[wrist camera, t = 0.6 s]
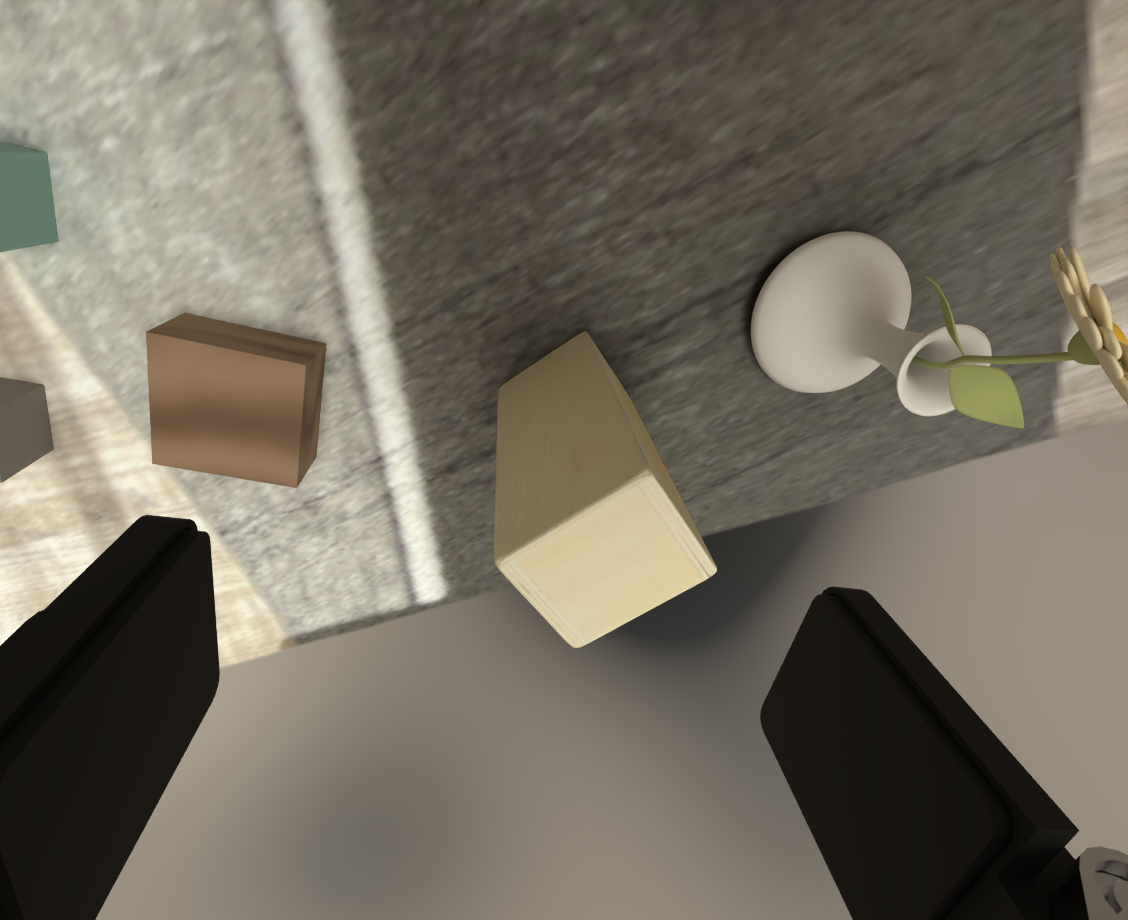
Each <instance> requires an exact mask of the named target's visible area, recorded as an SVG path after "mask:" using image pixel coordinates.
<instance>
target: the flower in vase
mask: <svg viewBox="0 0 1128 920" xmlns="http://www.w3.org/2000/svg"><path fill="white" fill-rule="evenodd" d="M1056 256H1057V258H1056V257H1055V255H1054V254H1052V253H1051V254H1050V257H1049V260H1050V266H1051V269H1052V273H1053V276H1054V279H1055V281H1056V284H1057V286H1058V289H1059V291H1060V293H1061V296H1062V298H1063V300H1064V302H1065V304H1066V307H1067V309H1068V310H1069V312H1070V314H1071V316H1072V318H1073V320H1074V321H1075V323H1076V324H1077V326H1078V328H1079V331H1078V332H1077V333H1076V334H1075V335H1074V336H1073V338H1072V339H1071V340H1070V342H1069V345H1068V352H1064V353H1053V354H1040V355H1025V356H992V354H991V346H990V343H989V341H988V339H987V337H986V336H985V335H984V333H983V332H981V331H980V330H979V329H977V328H975V327H973V326H969V325H963V324H957V325H955V322H954V319H953V315H952V312H951V309H950V306H949V304H948V302H947V300H946V298H945V296H944V294H943V292H942V290H941V288H940V287H939V286H938V284H937V283H936V282H935V281H933V280H932V279H930V278H928V277H926V276H925V277H926V278H927V279H928V280H929V281H930V282H931V283H932V284H933V285H934V287H935V288H936V290H937V292H938V294H939V297H940V300H941V304H942V310H943V316H944V321H945V325H946V326H945V327H942V328H939V329H937V330H935V331H933V332H931V333H929V334H920V333H914V332H910V331H906V330H904V329H905V326H906V324H907V320H908V317H909V313H910V307H911V286H910V281H909V277H908V274H907V271H906V269H905V267H904V265H903V263H902V262H901V260H900V259H899V257H898V256H897V254H896V253H895V252H894V251H893V250H892V249H891V247H890V246H888V245H887V244H886V243H884V242H883V241H882V240H880V239H878V238H876V237H874V236H871V235H868V234H865V233H861V232H854V231H842V232H835V233H830V234H826V235H823V236H820V237H818V238H815V239H813V240H810V241H809V242H807V243H805V244H803V245H802V246H800V247H798V248H797V249H796V250H794V251H793V252H792V253H790V254H789V255H788V256H787V257H786V258H785V259H784V260H783V261H781V262H780V264H779V265H778V266H777V267H776V268H775V269H774V270H773V272H772V273H771V275H770V276H769V277H768V279H767V280H766V282H765V284H764V285H763V287H762V289H761V291H760V293H759V296H758V298H757V300H756V303H755V307H754V310H753V314H752V321H751V341H752V347H753V351H754V354H755V356H756V359H757V361H758V363H759V365H760V366H761V368H762V370H763V371H764V372H765V373H766V374H767V375H768V376H769V377H770V378H771V379H772V380H773V381H774V382H776V383H778V384H779V385H781V386H783V387H785V388H787V389H790V390H794V391H797V392H805V393H824V392H831V391H835V390H839V389H842V388H845V387H847V386H850V385H852V384H854V383H856V382H858V381H860V380H861V379H863V378H864V377H866V376H867V375H869V374H870V373H871V372H873V371H874V370H875V369H876V368H877V367H878V366H879V365H880V364H881V365H883V366H884V367H886V368H887V369H888V370H889V371H890V372H892V374H893V375H894V376H895V377H896V378H897V392H898V396H899V398H900V400H901V402H902V404H903V405H904V406H905V407H906V408H907V409H908V410H909V411H911V412H913V413H915V414H918V415H922V416H936V415H941V414H944V413H947V412H950V411H952V410H954V409H956V410H957V411H959V412H961V413H962V414H964V415H967V416H969V417H972V418H975V419H979V420H982V421H986V422H991V423H995V424H1000V425H1005V426H1010V427H1016V428H1024V419H1023V413H1022V408H1021V404H1020V399H1019V396H1018V392H1017V390H1016V387H1015V385H1014V383H1013V381H1012V379H1011V377H1010V376H1009V375H1008V374H1007V373H1006V372H1005V371H1004V370H1002V369H999V368H996V367H990V364H1018V363H1040V362H1056V361H1069V360H1074V361H1076V362H1078V363H1081V364H1088V365H1101V366H1102V368H1103V370H1104V371H1105V373H1106V374H1107V376H1108V377H1109V379H1110V380H1111V382H1112V383H1113V385H1114V386H1115V388H1116V389H1117V391H1118V392H1119V394H1120V395H1121V396H1122V398H1123V399H1124V400H1125V402H1126V403H1127V404H1128V344H1127V340H1126V337H1125V335H1124V333H1123V332H1122V331H1121V329H1120V328H1119V327H1118V326H1117V325H1116V324H1115V323H1114V320H1113V315H1112V313H1111V310H1110V306H1109V303H1108V300H1107V298H1106V296H1105V294H1104V292H1103V291H1102V289H1101V288H1100V287H1099V286H1098V285H1097V284H1093V285H1090V282H1089V279H1088V276H1087V273H1086V270H1085V267H1084V265H1083V263H1082V261H1081V258H1080V256H1079V254H1078V252H1077V250H1076V249H1075V248H1074V247H1070V248H1069V258H1070V262H1071V263H1070V262H1069V260H1068V259H1066V257H1065V254H1064V252H1063V249H1062V248H1061V247H1057V249H1056ZM1119 361H1121V363H1122V364H1121V363H1120V362H1119ZM1123 366H1124V367H1123Z"/></svg>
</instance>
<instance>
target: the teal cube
mask: <svg viewBox="0 0 1128 920" xmlns="http://www.w3.org/2000/svg"><path fill="white" fill-rule="evenodd" d="M53 242H58V234H57V226H56V218H55V210H54V202H53V194H52V186H51V178H50V170H49V162H48V154H47V153H46V152H42V151H37V150H33V149H29V148H25V147H21V146H17V145H12V144H8V143H4V142H0V252H4V251H9V250H15V249H20V248H25V247H31V246H36V245H42V244H47V243H53Z"/></svg>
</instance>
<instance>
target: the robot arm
mask: <svg viewBox="0 0 1128 920" xmlns="http://www.w3.org/2000/svg"><path fill="white" fill-rule="evenodd" d="M219 673H220V672H219V657H218V643H217V629H216V615H215V600H214V586H213V572H212V558H211V544H210V537H209V535H208V533H207V532H204V531H198V530H197V526H196V524H195V522H194V521H192V520H191V519H181V518H171V517H162V516H152V515H145V516H142V517H140V518H139V519H138V520H136V521H135V522H134V523H133V524H132V525H131V526H130V527H129V528H128V529H127V530H126V531H125V532H124V533H123V534H122V535H121V536H120V537H119V538H118V539H117V540H116V541H115V542H114V543H113V544H112V545H111V546H110V547H109V548H107V549H106V550H105V551H104V552H103V553H102V554H101V555H100V556H99V557H98V558H97V559H96V560H95V561H94V562H93V563H92V564H91V565H90V566H89V567H88V568H87V569H86V570H85V571H84V572H83V573H82V574H81V575H80V576H79V577H78V578H77V579H75V580H74V581H73V582H72V583H71V584H70V585H69V586H68V587H67V588H66V589H65V590H64V591H63V592H62V593H61V594H60V595H59V596H58V597H57V598H56V599H55V600H54V601H53V602H52V603H51V604H50V605H49V606H48V607H47V608H46V609H45V610H42V611H39V612H38V613H36V614H35V615H34V616H32V617H31V618H30V619H28V620H27V621H26V622H25V623H24V624H23V625H22V626H21V627H20V628H18V629H17V630H16V631H15V632H14V633H13V634H12V635H11V636H10V637H9V638H8V639H7V640H6V641H5V642H4V643H3V644H2V645H1V646H0V920H95V919H96V917H97V915H98V913H99V911H100V910H101V908H102V906H103V904H104V902H105V900H106V898H107V897H108V895H109V893H110V891H111V889H112V887H113V885H114V884H115V882H116V880H117V878H118V876H119V874H120V872H121V871H122V869H123V867H124V865H125V863H126V861H127V859H128V857H129V856H130V854H131V852H132V850H133V848H134V846H135V844H136V842H137V841H138V839H139V837H140V835H141V833H142V831H143V830H144V828H145V826H146V824H147V822H148V820H149V818H150V816H151V815H152V813H153V811H154V809H155V807H156V805H157V804H158V802H159V800H160V798H161V796H162V794H163V792H164V790H165V788H166V787H167V785H168V783H169V781H170V779H171V777H172V776H173V774H174V772H175V770H176V768H177V766H178V764H179V763H180V761H181V758H182V757H183V755H184V753H185V751H186V750H187V748H188V746H189V744H190V742H191V740H192V738H193V736H194V735H195V733H196V731H197V729H198V727H199V725H200V723H201V722H202V720H203V718H204V716H205V714H206V712H207V710H208V709H209V707H210V705H211V703H212V701H213V699H214V697H215V694H216V691H217V687H218V683H219ZM760 717H761V724H762V729H763V731H764V734H765V736H766V738H767V740H768V742H769V744H770V746H771V748H772V750H773V752H774V755H775V757H776V759H777V761H778V763H779V765H780V767H781V769H782V771H783V773H784V776H785V778H786V780H787V782H788V784H789V786H790V788H791V790H792V792H793V795H794V797H795V799H796V801H797V803H798V805H799V807H800V809H801V811H802V814H803V816H804V818H805V820H806V822H807V824H808V826H809V828H810V830H811V832H812V835H813V836H814V839H815V841H816V843H817V845H818V847H819V849H820V851H821V853H822V856H823V858H824V860H825V862H826V864H827V866H828V868H829V870H830V873H831V875H832V877H833V879H834V881H835V883H836V885H837V887H838V889H839V891H840V894H841V895H842V898H843V900H844V902H845V904H846V906H847V908H848V910H849V912H850V915H851V917H852V919H853V920H1128V855H1126V854H1124V853H1122V852H1120V851H1117V850H1113V849H1108V848H1104V847H1093V848H1087V849H1086V850H1085V851H1084V852H1083V853H1082V854H1081V855H1080V856H1079V857H1078V858H1077V859H1076V860H1075V859H1074V858H1073V857H1072V856H1071V854H1070V853H1069V852H1068V851H1067V850H1066V848H1065V845H1066V844H1067V843H1068V842H1069V841H1070V840H1071V839H1072V838H1073V837H1074V836H1075V835H1076V834H1077V832H1078V831H1079V830H1078V829H1077V827H1076V826H1075V825H1074V824H1073V823H1072V822H1071V821H1070V820H1069V818H1068V817H1067V816H1066V815H1065V814H1064V813H1063V811H1062V810H1061V809H1060V808H1059V807H1058V806H1057V805H1056V804H1055V802H1054V801H1053V800H1052V799H1051V798H1050V797H1049V796H1048V794H1047V793H1046V792H1045V791H1044V790H1043V789H1042V788H1041V787H1040V785H1039V784H1038V783H1037V782H1036V781H1035V780H1034V779H1033V778H1032V776H1031V775H1030V774H1029V773H1028V772H1027V771H1026V770H1025V769H1024V767H1023V766H1022V765H1021V764H1020V763H1019V762H1018V761H1017V759H1016V758H1015V757H1014V756H1013V755H1012V754H1011V753H1010V752H1009V750H1008V749H1007V748H1006V747H1005V746H1004V745H1003V743H1001V741H1000V740H999V739H998V738H997V737H996V736H995V734H994V733H993V732H992V731H991V730H990V729H989V728H988V726H987V725H986V724H985V723H984V722H983V721H982V720H981V719H980V718H979V716H978V715H977V714H976V713H975V712H974V711H973V710H972V708H971V707H970V706H969V705H968V704H967V703H966V702H965V701H964V699H963V698H962V697H961V696H960V695H959V694H958V693H957V691H956V690H955V689H954V688H953V687H952V686H951V685H950V684H949V682H948V681H947V680H946V679H945V678H944V677H943V675H942V674H941V673H940V672H939V671H938V670H937V669H936V668H935V667H934V666H933V664H932V663H931V662H930V661H929V660H928V659H927V657H926V656H925V655H924V654H923V653H922V652H921V651H920V649H919V648H918V647H917V646H916V645H915V644H914V643H913V642H912V640H911V639H910V638H909V637H908V636H907V635H906V634H905V632H904V631H903V630H902V629H901V628H900V627H899V626H898V625H897V623H896V622H895V621H894V620H893V619H892V618H891V617H890V615H889V614H888V613H887V612H886V611H885V610H884V609H883V608H882V606H881V605H880V604H879V603H878V602H877V601H876V600H875V599H874V597H873V596H872V595H871V594H869V593H868V592H867V591H864V590H859V589H850V588H841V587H829V588H827V589H826V590H824V591H823V593H822V594H821V595H817V596H816V597H815V598H814V600H813V601H812V603H811V605H810V607H809V609H808V612H807V614H806V616H805V618H804V620H803V622H802V624H801V626H800V628H799V630H798V632H797V634H796V636H795V639H794V641H793V643H792V645H791V647H790V649H789V651H788V653H787V655H786V658H785V660H784V662H783V664H782V666H781V668H780V670H779V672H778V674H777V676H776V678H775V681H774V682H773V685H772V687H771V689H770V691H769V693H768V695H767V697H766V699H765V701H764V703H763V705H762V709H761V715H760Z"/></svg>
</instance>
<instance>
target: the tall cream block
mask: <svg viewBox="0 0 1128 920" xmlns="http://www.w3.org/2000/svg"><path fill="white" fill-rule="evenodd" d="M494 559H495V563H496V565H497V567H498V568H499V569H500V571H501V572H502V573H503V574H504V575H505V576H506V577H507V579H508V580H509V581H510V582H511V583H512V584H513V585H514V586H515V587H516V588H517V589H518V590H519V591H520V592H521V593H522V594H523V596H524V597H525V598H526V599H527V600H528V601H529V602H530V603H531V604H532V605H533V606H534V607H535V608H536V610H537V611H538V612H539V613H540V614H541V615H542V616H543V617H544V618H545V619H546V620H547V621H548V622H549V623H550V625H551V626H552V627H553V628H554V629H555V630H556V631H557V632H558V633H559V634H560V635H561V636H562V637H563V638H564V639H565V640H566V641H567V642H568V643H569V644H570V645H571V646H573V647H574V648H578V647H582V646H584V645H586V644H588V643H590V642H592V641H594V640H595V639H597V638H599V637H601V636H602V635H605V634H606V633H608V632H610V631H612V630H614V629H615V628H617V627H619V626H621V625H623V624H625V623H626V622H628V621H630V620H632V619H634V618H636V617H638V616H639V615H641V614H643V613H645V612H647V611H649V610H651V609H652V608H654V607H656V606H658V605H660V604H661V603H664V602H665V601H667V600H669V599H671V598H673V597H675V596H677V595H678V594H680V593H682V592H684V591H686V590H687V589H689V588H691V587H693V586H695V585H697V584H699V583H701V582H703V581H704V580H706V579H708V578H709V577H711V576H712V575H713V574H715V573H716V571H717V567H716V565H715V563H714V561H713V559H712V557H711V555H710V554H709V552H708V550H707V548H706V546H705V544H704V542H703V540H702V538H701V536H700V534H699V532H698V530H697V528H696V526H695V524H694V522H693V520H692V518H691V516H690V515H689V513H688V511H687V509H686V507H685V505H684V503H683V501H682V499H681V497H680V495H679V493H678V491H677V489H676V487H675V485H674V483H673V482H672V480H671V478H670V476H669V474H668V472H667V470H666V468H665V466H664V464H663V462H662V460H661V458H660V456H659V454H658V452H657V450H656V448H655V446H654V444H653V442H652V440H651V438H650V436H649V434H648V432H647V430H646V429H645V427H644V425H643V423H642V421H641V419H640V417H639V415H638V413H637V411H636V409H635V407H634V405H633V403H632V401H631V399H630V397H629V396H628V394H627V392H626V391H625V389H624V388H623V386H622V385H621V383H620V382H619V380H618V378H617V377H616V375H615V374H614V372H613V371H612V369H611V368H610V366H609V365H608V363H607V362H606V360H605V359H604V357H603V355H602V354H601V352H600V351H599V349H598V348H597V346H596V345H595V343H594V342H593V340H592V338H591V337H590V336H589V334H588V332H586V331H584V332H582V333H580V334H578V335H577V336H575V337H574V338H572V339H570V340H569V341H567V342H566V343H564V344H563V345H561V346H560V347H558V348H557V349H555V350H554V351H552V352H551V353H549V354H548V355H546V356H545V357H543V358H542V359H540V360H539V361H537V362H536V363H534V364H533V365H531V366H530V367H528V368H527V369H525V370H524V371H522V372H521V373H519V374H518V375H516V376H515V377H513V378H512V379H510V380H509V381H507V382H506V383H504V384H503V385H502V386H501V387H500V388H499V390H498V418H497V468H496V497H495V532H494Z"/></svg>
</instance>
